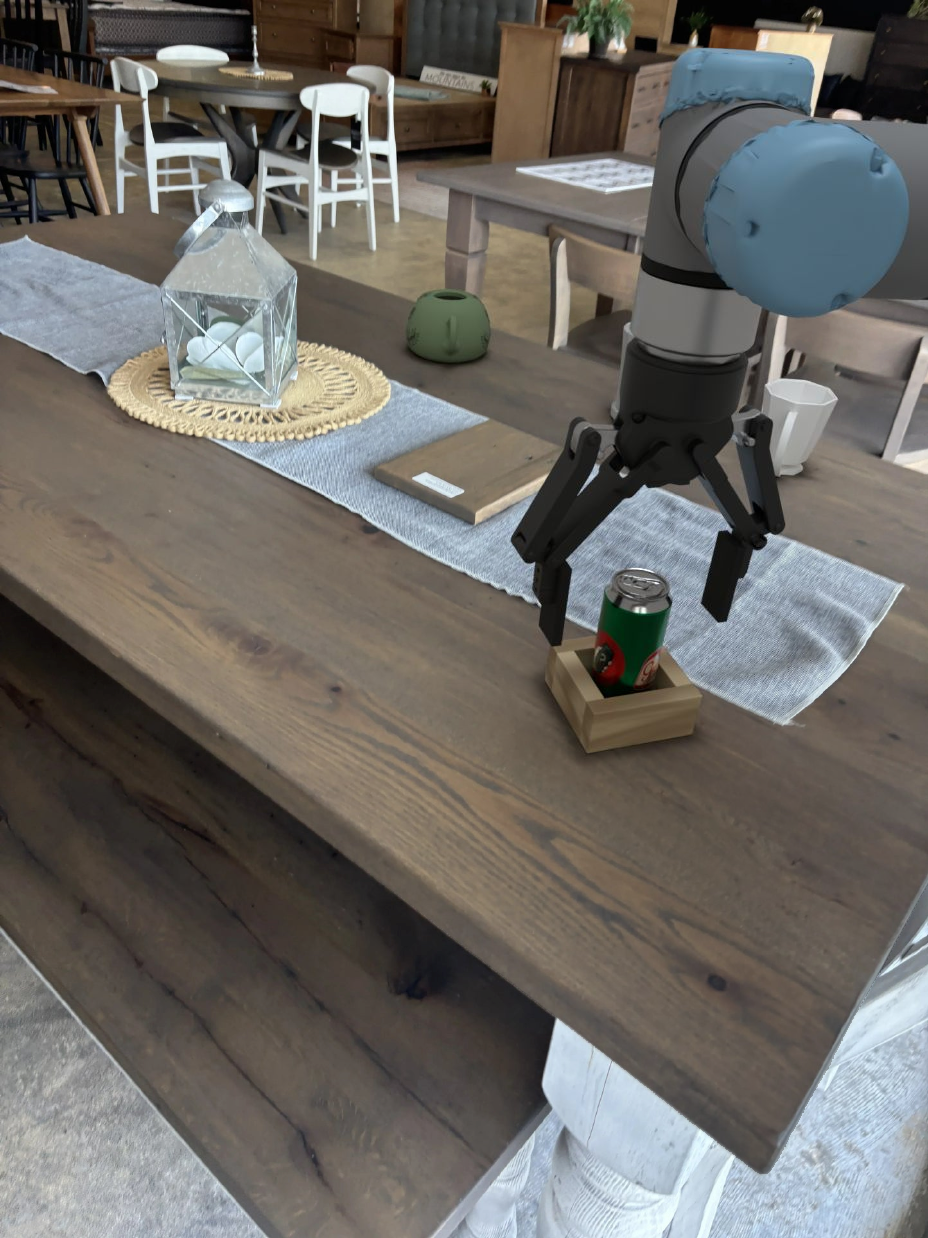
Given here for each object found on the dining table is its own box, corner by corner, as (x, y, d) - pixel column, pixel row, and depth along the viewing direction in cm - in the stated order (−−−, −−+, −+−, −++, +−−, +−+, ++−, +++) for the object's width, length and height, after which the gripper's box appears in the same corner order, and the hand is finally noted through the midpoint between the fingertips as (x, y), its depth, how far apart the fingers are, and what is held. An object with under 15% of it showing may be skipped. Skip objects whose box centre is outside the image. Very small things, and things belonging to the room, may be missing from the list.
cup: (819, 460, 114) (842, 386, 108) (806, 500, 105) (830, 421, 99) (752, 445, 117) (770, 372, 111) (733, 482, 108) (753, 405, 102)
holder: (692, 734, 71) (702, 695, 69) (586, 753, 69) (594, 714, 66) (641, 664, 78) (649, 627, 76) (544, 680, 76) (549, 641, 73)
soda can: (639, 735, 71) (668, 609, 64) (577, 717, 72) (598, 591, 65) (653, 697, 75) (681, 574, 68) (593, 680, 76) (615, 558, 69)
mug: (404, 336, 143) (405, 280, 138) (485, 338, 145) (489, 283, 140) (407, 373, 131) (408, 313, 126) (496, 376, 132) (500, 316, 127)
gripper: (823, 317, 62) (751, 578, 74) (478, 332, 56) (461, 616, 68) (895, 354, 56) (804, 630, 69) (519, 376, 50) (492, 677, 62)
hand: (633, 624), depth 68 cm, fingers open, 13 cm apart
